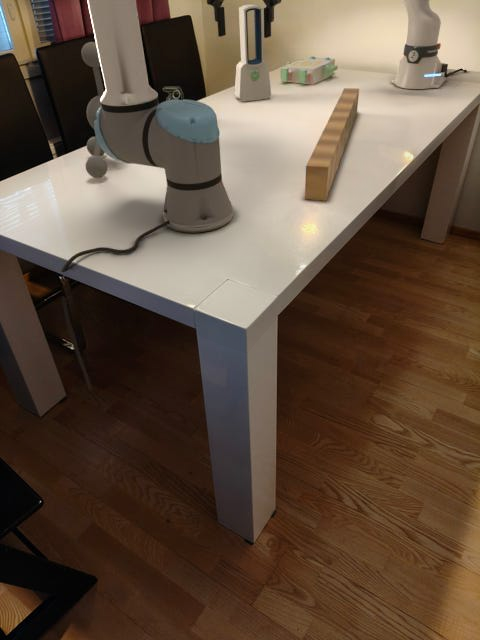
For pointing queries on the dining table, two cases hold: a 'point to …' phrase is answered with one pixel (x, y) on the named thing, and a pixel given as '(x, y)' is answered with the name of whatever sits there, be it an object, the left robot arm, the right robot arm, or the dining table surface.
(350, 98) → the post
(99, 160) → the molecular model
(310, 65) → the white green flat box
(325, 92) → the dining table surface
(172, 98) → the grenade
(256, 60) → the electronic device
